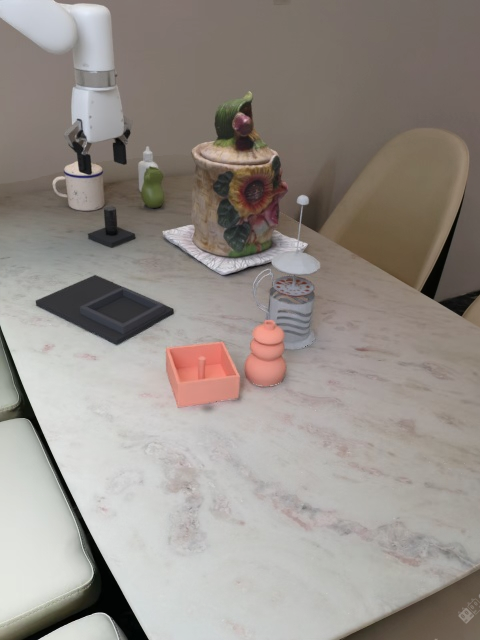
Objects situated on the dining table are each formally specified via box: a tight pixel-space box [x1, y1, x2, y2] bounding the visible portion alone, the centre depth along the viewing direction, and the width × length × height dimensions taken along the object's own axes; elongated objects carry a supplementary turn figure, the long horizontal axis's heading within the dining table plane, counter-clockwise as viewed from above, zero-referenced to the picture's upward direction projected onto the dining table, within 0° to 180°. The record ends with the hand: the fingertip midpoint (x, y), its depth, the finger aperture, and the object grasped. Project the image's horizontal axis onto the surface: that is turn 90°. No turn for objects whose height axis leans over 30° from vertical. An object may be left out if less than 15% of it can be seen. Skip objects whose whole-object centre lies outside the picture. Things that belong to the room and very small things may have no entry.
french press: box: [252, 194, 321, 351], centre depth 98 cm, size 10×12×25 cm
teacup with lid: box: [51, 160, 105, 212], centre depth 144 cm, size 12×9×12 cm
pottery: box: [165, 319, 287, 408], centre depth 89 cm, size 18×10×10 cm, turn 108°
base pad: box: [35, 274, 175, 346], centre depth 106 cm, size 20×14×2 cm
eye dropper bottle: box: [137, 146, 159, 193], centre depth 156 cm, size 4×6×12 cm
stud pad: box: [87, 205, 136, 249], centre depth 131 cm, size 7×7×7 cm
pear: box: [140, 166, 165, 209], centre depth 148 cm, size 6×5×10 cm
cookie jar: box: [162, 91, 309, 276], centre depth 126 cm, size 25×25×32 cm
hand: (103, 168), depth 124 cm, fingers open, 9 cm apart
